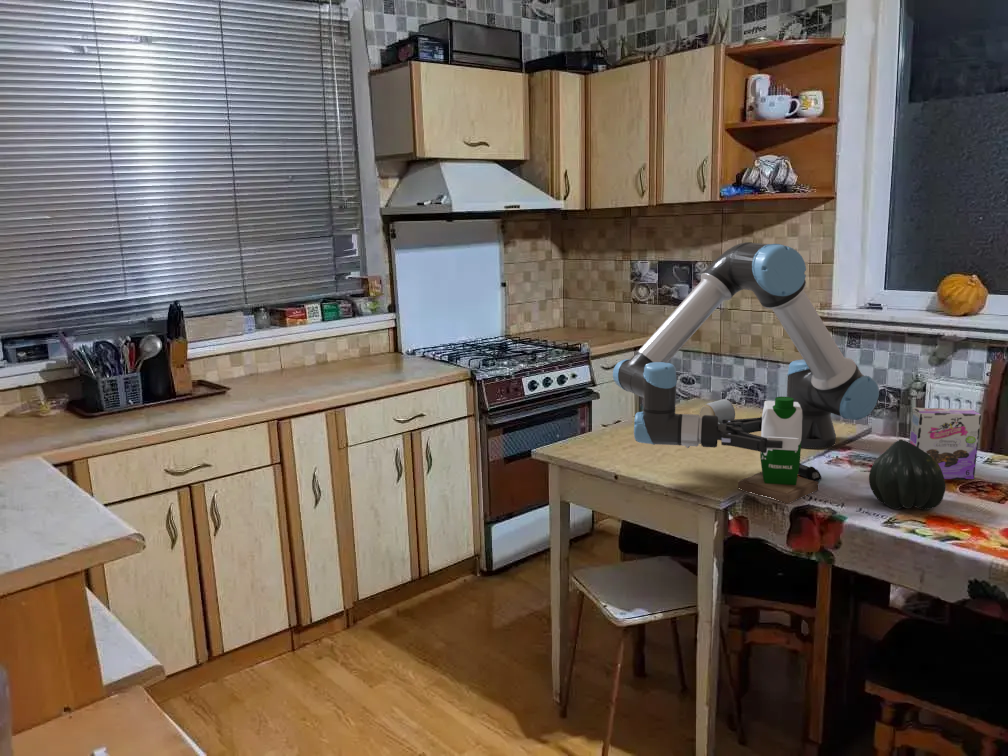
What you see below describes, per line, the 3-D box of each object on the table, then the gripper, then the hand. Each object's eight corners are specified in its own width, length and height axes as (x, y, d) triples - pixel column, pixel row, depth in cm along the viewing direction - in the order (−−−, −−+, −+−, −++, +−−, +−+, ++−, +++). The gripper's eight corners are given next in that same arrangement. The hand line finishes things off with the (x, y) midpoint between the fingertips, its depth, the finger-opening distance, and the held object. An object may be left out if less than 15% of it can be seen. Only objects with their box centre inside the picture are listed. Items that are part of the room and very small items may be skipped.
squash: (948, 500, 171) (947, 435, 177) (869, 494, 176) (870, 431, 183) (941, 525, 182) (940, 462, 189) (867, 518, 188) (868, 458, 195)
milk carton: (760, 484, 191) (764, 400, 187) (757, 472, 200) (761, 391, 195) (800, 486, 189) (806, 401, 185) (796, 474, 198) (801, 392, 193)
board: (768, 476, 203) (769, 467, 203) (818, 490, 193) (818, 480, 193) (737, 489, 195) (738, 480, 194) (787, 504, 185) (788, 494, 185)
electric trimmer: (777, 463, 214) (777, 451, 214) (822, 480, 200) (823, 467, 200) (765, 465, 213) (766, 453, 212) (810, 483, 199) (811, 470, 198)
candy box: (913, 478, 200) (919, 412, 196) (905, 470, 205) (911, 406, 202) (974, 480, 198) (982, 413, 194) (965, 472, 204) (972, 407, 200)
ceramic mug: (696, 424, 249) (698, 400, 248) (717, 420, 253) (719, 396, 251) (721, 433, 240) (722, 408, 238) (742, 429, 244) (744, 404, 242)
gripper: (701, 431, 208) (790, 436, 203) (698, 462, 185) (799, 468, 179) (702, 402, 207) (792, 406, 201) (699, 429, 183) (801, 435, 178)
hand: (795, 435), depth 190 cm, fingers open, 13 cm apart
